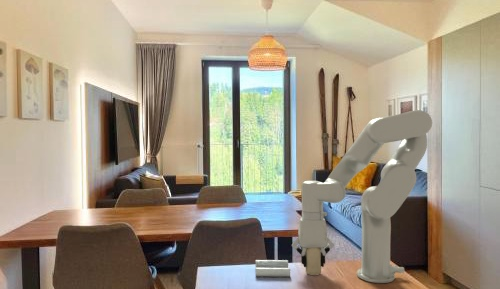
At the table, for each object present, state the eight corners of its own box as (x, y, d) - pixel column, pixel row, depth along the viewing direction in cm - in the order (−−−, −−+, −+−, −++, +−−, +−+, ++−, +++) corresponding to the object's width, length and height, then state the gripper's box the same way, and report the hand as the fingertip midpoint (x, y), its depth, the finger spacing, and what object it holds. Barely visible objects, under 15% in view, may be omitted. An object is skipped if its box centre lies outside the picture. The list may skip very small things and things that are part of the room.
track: (287, 268, 140) (287, 260, 140) (290, 277, 131) (290, 268, 131) (255, 268, 141) (255, 260, 141) (255, 277, 132) (255, 268, 132)
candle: (321, 275, 133) (320, 247, 132) (305, 274, 134) (304, 246, 133) (321, 270, 138) (320, 242, 138) (306, 269, 139) (305, 242, 139)
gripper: (334, 213, 139) (335, 262, 139) (287, 213, 139) (288, 262, 140) (338, 217, 132) (339, 269, 132) (289, 218, 132) (290, 269, 132)
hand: (313, 265), depth 136 cm, fingers closed on candle, 5 cm apart
